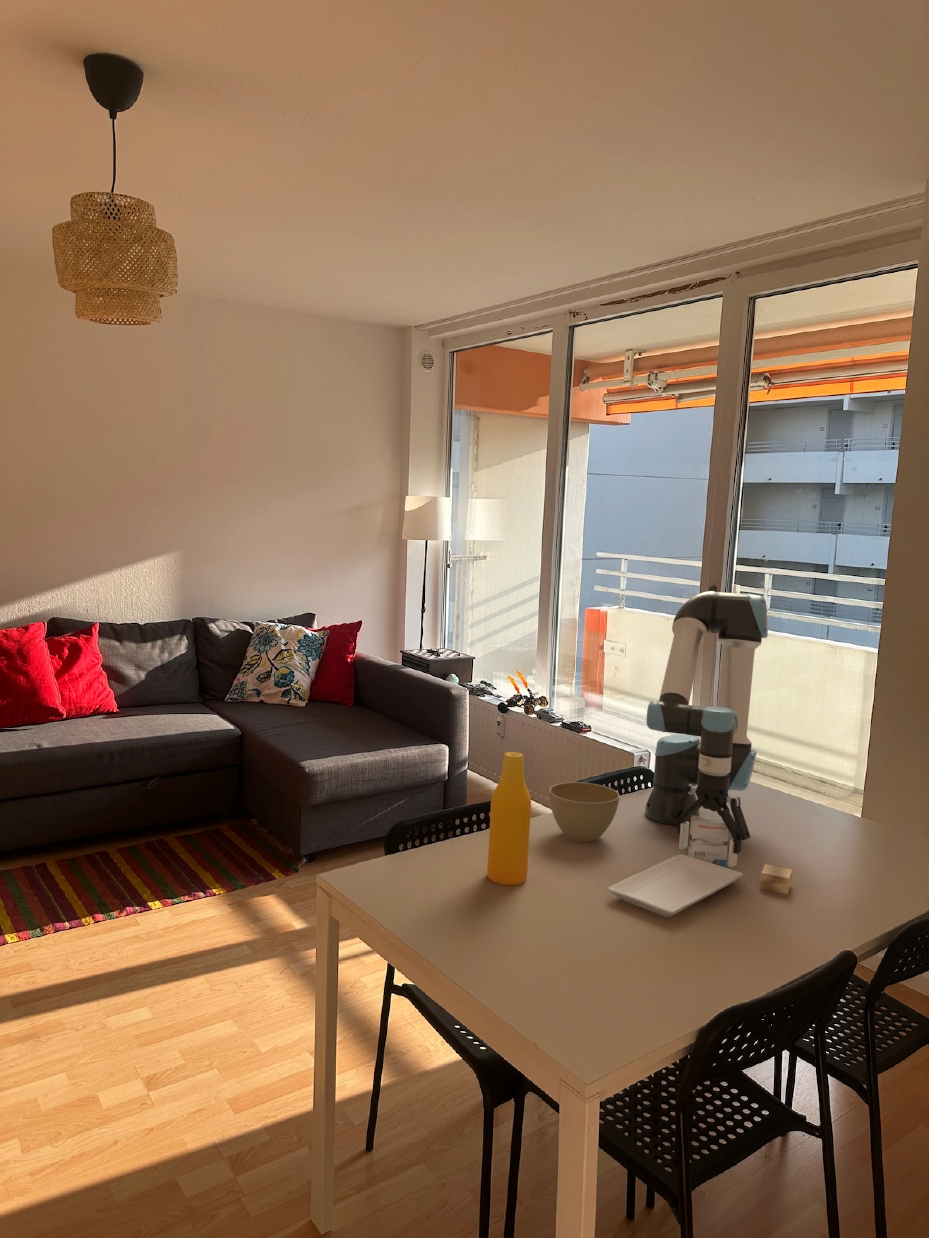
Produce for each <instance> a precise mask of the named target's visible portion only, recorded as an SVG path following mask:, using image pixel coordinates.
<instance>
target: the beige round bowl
mask: <svg viewBox="0 0 929 1238" xmlns="http://www.w3.org/2000/svg"><path fill="white" fill-rule="evenodd" d="M548 794H549V795H548V796H549V803H550V808H551V812H552V815H553V819H554V820H555V822H556V824H557V825H558V828H559V829H560V831H561V832H562V833H563V834H564V836H565V838H567V839H568V840H571V841H574V842H578V843H579V842H580V843H593V842H595V841H597V840H598V839H599V838H600V837H602V835H603V834H604V833H605V832H606V830H608V828H609V827H610V825H611V823H612V821H613V820H614V817H615V816H616V812H617V809H618V806H619V802H620V793H619V792H618V791H617V790H615V789H613V788H611V787H608V786H605V785H601V784H597V783H589V782H579V781H578V782H577V781H576V782H574V781H571V782H562V783H557V784H554V785H552V786H550V788H549V792H548Z"/></svg>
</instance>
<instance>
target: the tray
mask: <svg viewBox="0 0 929 1238" xmlns="http://www.w3.org/2000/svg"><path fill="white" fill-rule="evenodd" d="M743 876H744V874H743V873H742V872H740V871H737V870H734V869H731V868H728V867H726V868H725V867H722V866H718V865H715V864H712V863H709V862H706V861H702V860H699V859H696V858H692V857H689V856H688V855H684V854H677V855H674V856H673V857H670V858H668V859H666V860H663V861H661V862H660V863H657V864H655V865H653V866H651V867H649V868H647V869H645V870H642V871H640V872H638V873H636V874H633V875H631V876H629V877H627V878H625V879H623V880H620V881H618V882H616V883H614V884H611V885H610V886H609V887H608V888H607V890H608V891H609V892H610V893H611V894H613V895H614V896H616V897H618V898H620V899H622V900H624V901H625V902H626V903H629V904H631V905H634V906H637V907H639V908H642V909H644V910H647V911H649V912H651V913H655V914H657V915H659V916H663V917H666V918H670V917H673V916H674V915H676V914H678V913H680V912H682V911H684V910H686V909H687V908H688V907H691V906H693V905H695V904H697V903H699V902H700V901H702V900H704V899H706V898H708V897H710V896H711V895H712V894H715V893H717V892H719V891H720V890H722V889H723V888H726V887H728V886H729V885H731V884H733V883H735V882H737V880H739V879H740V878H742V877H743Z"/></svg>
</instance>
